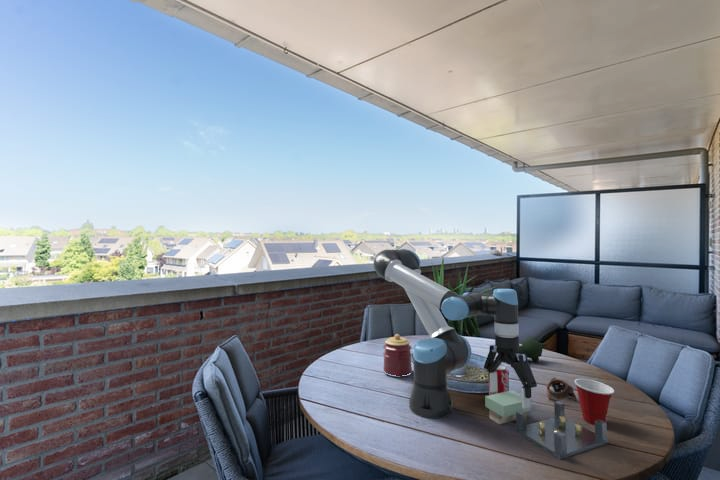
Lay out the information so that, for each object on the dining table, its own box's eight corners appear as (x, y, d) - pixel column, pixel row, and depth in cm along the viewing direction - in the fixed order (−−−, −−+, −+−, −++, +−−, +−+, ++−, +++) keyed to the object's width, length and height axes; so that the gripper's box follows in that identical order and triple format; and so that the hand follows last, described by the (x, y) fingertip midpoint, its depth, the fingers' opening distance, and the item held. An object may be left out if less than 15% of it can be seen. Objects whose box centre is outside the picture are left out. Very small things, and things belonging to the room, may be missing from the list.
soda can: (509, 396, 128) (508, 365, 129) (509, 404, 122) (508, 371, 122) (489, 393, 131) (489, 362, 132) (488, 400, 125) (487, 368, 125)
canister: (416, 371, 156) (415, 332, 157) (404, 380, 145) (404, 339, 146) (391, 365, 163) (391, 329, 164) (378, 374, 152) (378, 335, 153)
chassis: (560, 459, 90) (559, 436, 90) (515, 431, 104) (514, 412, 104) (608, 442, 97) (607, 421, 98) (559, 419, 111) (559, 400, 111)
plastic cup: (617, 433, 102) (616, 394, 102) (575, 424, 108) (574, 386, 108) (613, 418, 111) (612, 382, 112) (574, 410, 117) (574, 375, 117)
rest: (499, 424, 108) (499, 414, 108) (489, 417, 112) (489, 408, 112) (526, 416, 113) (526, 407, 113) (516, 411, 117) (515, 402, 117)
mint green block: (503, 417, 106) (503, 406, 107) (485, 406, 114) (485, 396, 114) (531, 410, 111) (530, 399, 111) (511, 400, 118) (511, 390, 119)
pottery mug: (584, 406, 121) (576, 388, 120) (559, 416, 123) (550, 398, 121) (566, 384, 133) (558, 368, 131) (543, 394, 134) (535, 377, 133)
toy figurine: (501, 367, 165) (554, 363, 163) (497, 329, 165) (549, 324, 164) (495, 361, 174) (544, 357, 173) (491, 324, 175) (540, 320, 173)
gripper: (547, 342, 103) (550, 412, 102) (488, 326, 126) (490, 384, 125) (530, 345, 100) (533, 417, 99) (472, 328, 123) (474, 387, 122)
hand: (509, 399), depth 112 cm, fingers open, 13 cm apart
